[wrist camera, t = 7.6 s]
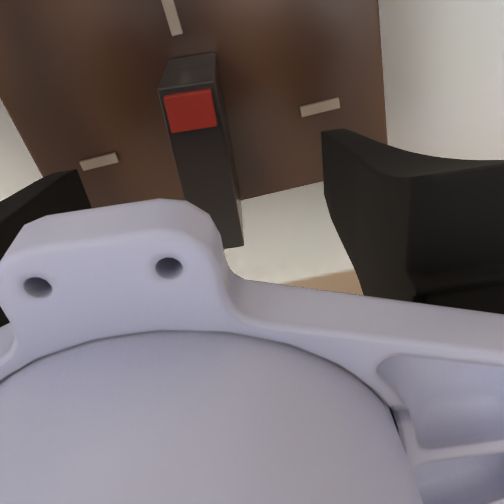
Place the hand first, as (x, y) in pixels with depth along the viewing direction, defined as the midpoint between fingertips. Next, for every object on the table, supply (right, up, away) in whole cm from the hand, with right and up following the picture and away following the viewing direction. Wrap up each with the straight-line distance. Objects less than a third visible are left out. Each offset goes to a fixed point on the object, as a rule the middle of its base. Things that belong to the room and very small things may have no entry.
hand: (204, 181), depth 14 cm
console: (-1, +5, +5) cm, 7 cm away
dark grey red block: (0, +2, +3) cm, 4 cm away
